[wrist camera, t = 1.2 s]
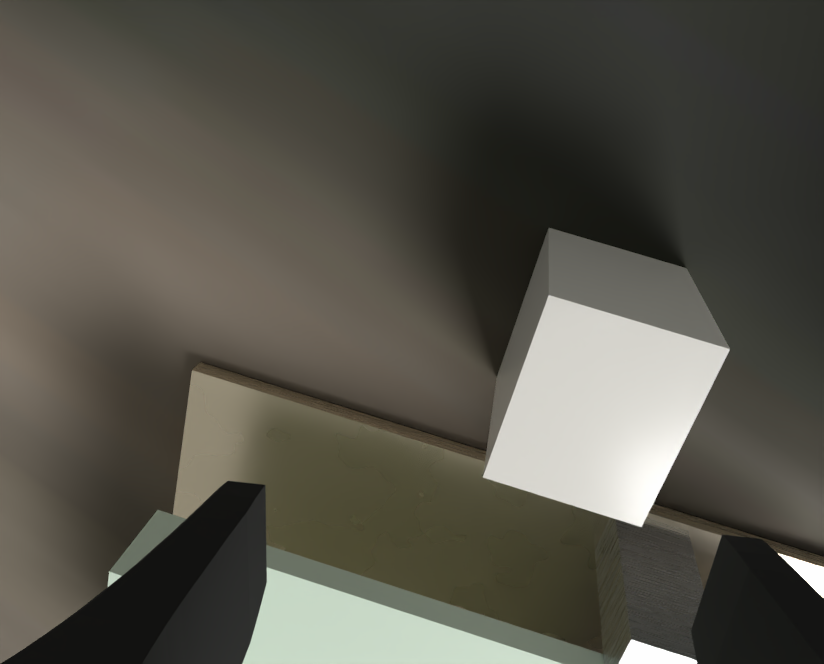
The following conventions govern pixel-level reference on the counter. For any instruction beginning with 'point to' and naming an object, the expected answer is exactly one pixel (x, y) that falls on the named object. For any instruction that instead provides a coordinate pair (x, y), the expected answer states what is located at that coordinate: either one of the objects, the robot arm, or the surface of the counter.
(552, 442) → the white rectangular block
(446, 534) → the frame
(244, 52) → the counter surface
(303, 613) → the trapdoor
